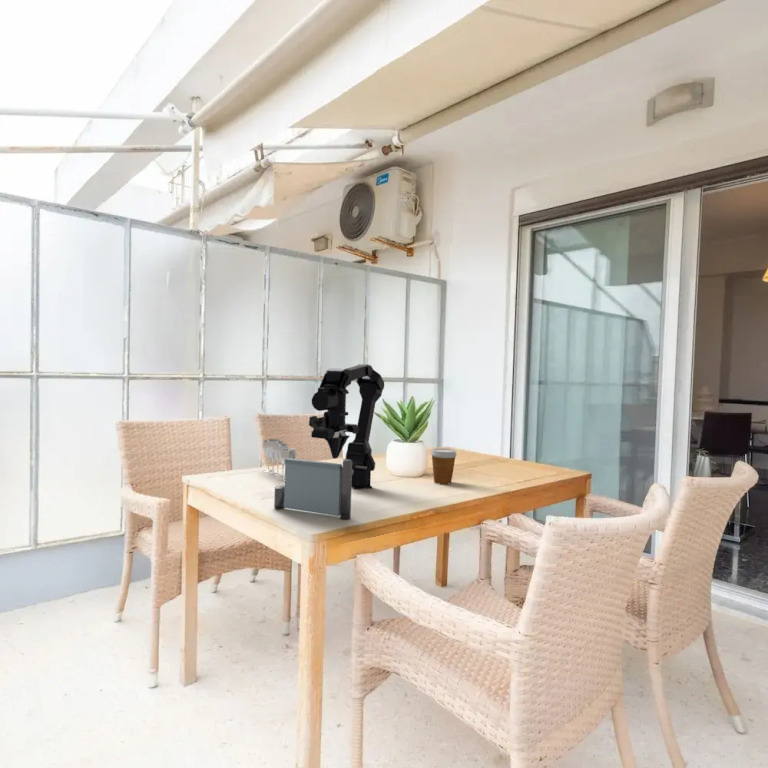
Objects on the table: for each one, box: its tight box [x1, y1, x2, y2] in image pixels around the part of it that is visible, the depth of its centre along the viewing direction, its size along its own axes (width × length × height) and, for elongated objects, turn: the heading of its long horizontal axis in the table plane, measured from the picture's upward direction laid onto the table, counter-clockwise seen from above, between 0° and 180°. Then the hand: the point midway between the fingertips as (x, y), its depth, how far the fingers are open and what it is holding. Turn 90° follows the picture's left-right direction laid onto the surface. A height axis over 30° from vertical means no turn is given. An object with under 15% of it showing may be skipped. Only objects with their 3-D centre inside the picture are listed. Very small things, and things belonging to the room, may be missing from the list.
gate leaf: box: [284, 458, 342, 517], centre depth 146 cm, size 18×2×14 cm, turn 68°
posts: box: [273, 458, 352, 521], centre depth 147 cm, size 24×3×16 cm, turn 68°
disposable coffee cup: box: [430, 448, 457, 485], centre depth 192 cm, size 10×10×12 cm
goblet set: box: [262, 438, 298, 483], centre depth 193 cm, size 28×6×13 cm, turn 30°
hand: (335, 458), depth 164 cm, fingers closed
